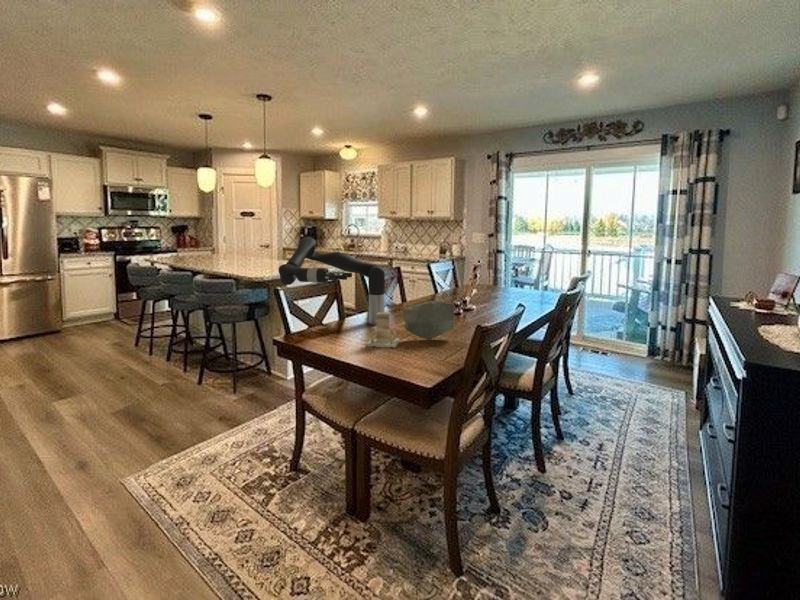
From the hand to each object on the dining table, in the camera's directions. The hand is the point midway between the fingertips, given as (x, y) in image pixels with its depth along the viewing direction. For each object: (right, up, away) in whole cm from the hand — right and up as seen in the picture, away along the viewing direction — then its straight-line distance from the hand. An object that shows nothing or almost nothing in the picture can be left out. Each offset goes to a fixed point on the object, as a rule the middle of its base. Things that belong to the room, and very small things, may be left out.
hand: (349, 276), depth 214 cm
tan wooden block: (+17, -32, -2) cm, 36 cm away
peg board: (+17, -33, -2) cm, 37 cm away
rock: (+39, -32, +6) cm, 51 cm away
